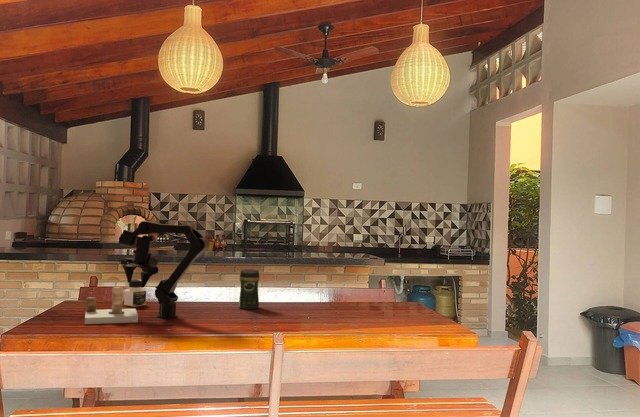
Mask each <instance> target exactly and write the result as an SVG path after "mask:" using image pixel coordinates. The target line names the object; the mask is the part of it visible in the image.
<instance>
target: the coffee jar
mask: <svg viewBox="0 0 640 417" xmlns="http://www.w3.org/2000/svg"><path fill="white" fill-rule="evenodd" d="M239 281H240V292H239V301H238V308H239V309H242V310H243V309H244V310H253V309H254V310H255V309H258V308H259V306H260V299H259V281H260V272H259V270H258V269H253V268H251V269H250V268H249V269H247V268H246V269H241V270H240V273H239Z"/></svg>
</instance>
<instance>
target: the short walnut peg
mask: <svg viewBox="0 0 640 417" xmlns="http://www.w3.org/2000/svg"><path fill="white" fill-rule="evenodd" d="M96 310H97V297H96V296H95V297H94V296H89V297H86V298H85V313H86V312H95V311H96Z"/></svg>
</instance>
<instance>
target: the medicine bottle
mask: <svg viewBox="0 0 640 417" xmlns="http://www.w3.org/2000/svg"><path fill="white" fill-rule="evenodd" d="M123 298H124V302H123V303H124V306H128V307H134V308H136V307H142V306H146V302H147V301H146V300H147V290H146V289H143V288H142V287H141V279H131V282H130V283H128V289H124V297H123Z"/></svg>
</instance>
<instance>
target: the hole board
mask: <svg viewBox="0 0 640 417" xmlns="http://www.w3.org/2000/svg"><path fill="white" fill-rule="evenodd" d="M138 322H139V315H138V311H137V309H136V308H122V314H112V308H111V309H110V308H107V309H96V311H95V312H86V311H85V316H84V325H96V324H97V325H98V324H99V325H101V324H104V325H105V324H125V323H128V324H129V323H138Z"/></svg>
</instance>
